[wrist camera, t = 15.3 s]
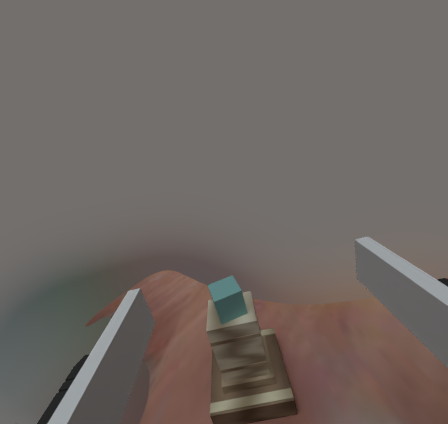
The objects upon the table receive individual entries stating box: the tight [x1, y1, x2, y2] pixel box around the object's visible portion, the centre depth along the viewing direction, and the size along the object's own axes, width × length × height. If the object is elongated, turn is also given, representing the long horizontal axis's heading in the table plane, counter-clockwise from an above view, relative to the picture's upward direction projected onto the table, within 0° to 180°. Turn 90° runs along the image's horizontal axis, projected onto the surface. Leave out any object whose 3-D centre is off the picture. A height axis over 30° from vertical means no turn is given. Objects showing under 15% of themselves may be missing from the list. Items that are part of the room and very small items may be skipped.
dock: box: [210, 328, 297, 424], centre depth 36 cm, size 12×12×3 cm
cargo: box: [208, 276, 248, 325], centre depth 31 cm, size 4×4×4 cm
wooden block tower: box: [206, 291, 276, 394], centre depth 33 cm, size 8×7×12 cm
